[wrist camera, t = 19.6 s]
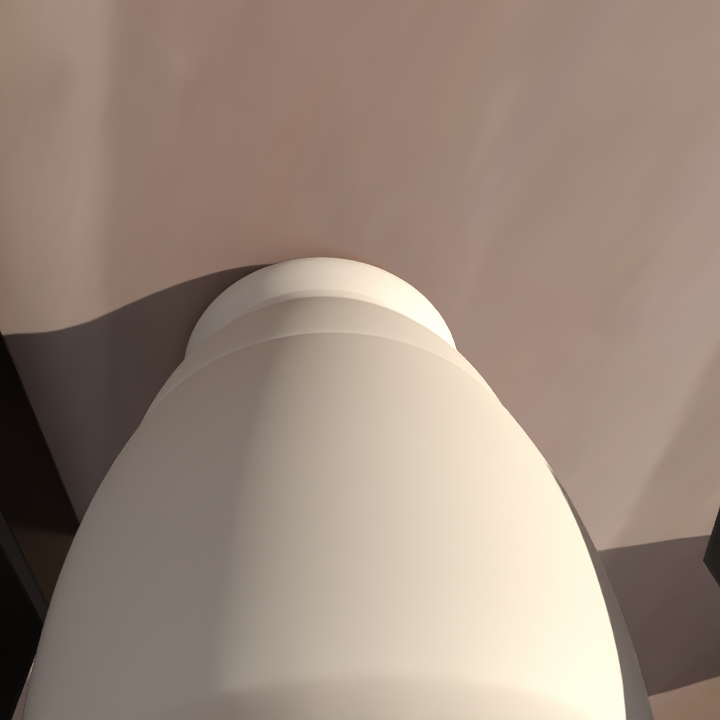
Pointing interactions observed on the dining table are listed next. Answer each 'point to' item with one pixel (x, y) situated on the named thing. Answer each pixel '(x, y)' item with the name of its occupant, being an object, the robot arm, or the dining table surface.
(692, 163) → the dining table surface
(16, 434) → the hob
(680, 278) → the dining table surface
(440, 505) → the jar
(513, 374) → the dining table surface
